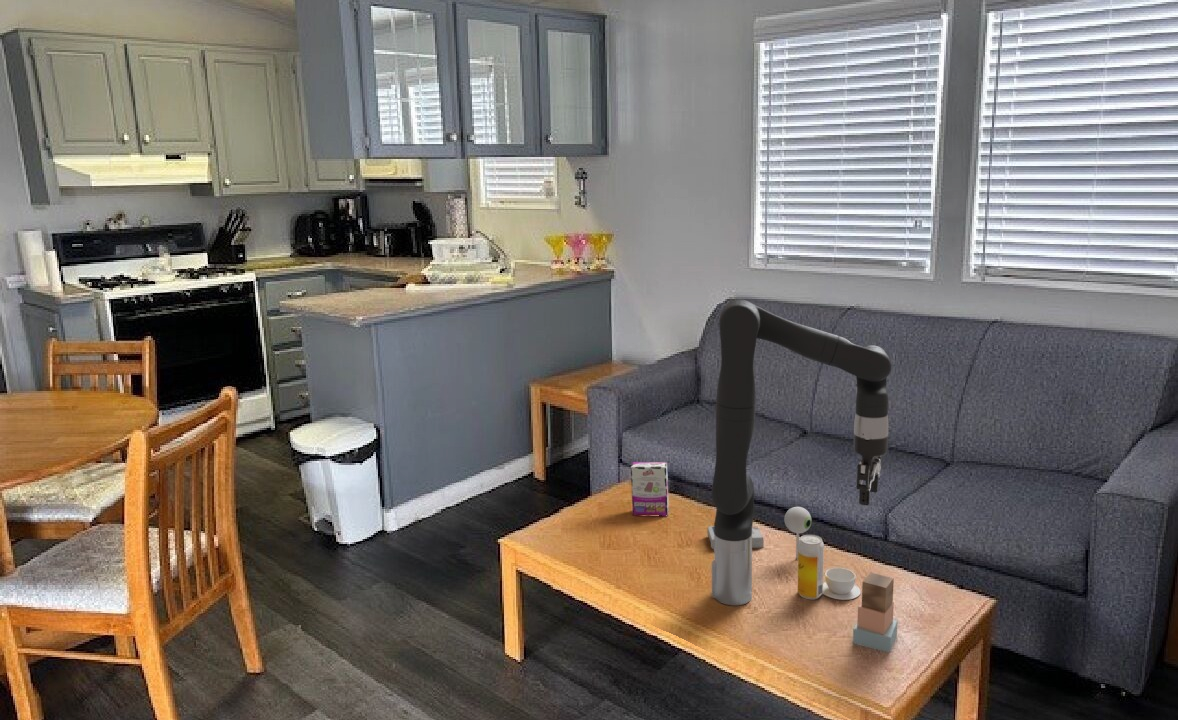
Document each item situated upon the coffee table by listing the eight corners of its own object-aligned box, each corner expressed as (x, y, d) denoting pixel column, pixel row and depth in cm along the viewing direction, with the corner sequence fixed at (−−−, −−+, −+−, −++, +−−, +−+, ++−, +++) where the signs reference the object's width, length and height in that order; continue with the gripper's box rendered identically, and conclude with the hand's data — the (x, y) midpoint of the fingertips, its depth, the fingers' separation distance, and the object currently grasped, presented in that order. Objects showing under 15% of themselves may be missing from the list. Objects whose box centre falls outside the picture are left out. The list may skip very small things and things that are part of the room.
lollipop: (800, 567, 222) (801, 515, 218) (778, 558, 227) (779, 507, 224) (815, 558, 226) (817, 507, 223) (794, 550, 232) (794, 500, 228)
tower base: (852, 644, 186) (853, 628, 185) (860, 627, 193) (861, 611, 192) (890, 653, 182) (890, 637, 181) (896, 635, 189) (897, 619, 188)
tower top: (857, 626, 186) (858, 606, 185) (866, 614, 191) (867, 595, 190) (884, 634, 182) (885, 614, 181) (892, 622, 187) (893, 602, 186)
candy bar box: (669, 510, 262) (667, 461, 258) (667, 517, 257) (666, 467, 253) (633, 509, 264) (632, 461, 260) (632, 516, 259) (630, 466, 255)
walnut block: (861, 606, 185) (862, 581, 184) (869, 596, 189) (870, 572, 188) (885, 612, 182) (886, 587, 180) (892, 602, 186) (893, 578, 184)
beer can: (804, 586, 212) (805, 531, 209) (826, 592, 208) (827, 537, 205) (793, 595, 207) (794, 540, 204) (816, 603, 204) (817, 546, 200)
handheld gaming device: (763, 549, 234) (763, 536, 233) (711, 551, 234) (711, 538, 233) (757, 536, 242) (757, 524, 242) (707, 538, 243) (707, 525, 242)
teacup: (848, 605, 202) (849, 588, 201) (812, 592, 209) (812, 575, 208) (867, 590, 209) (868, 573, 208) (831, 578, 216) (831, 561, 215)
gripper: (861, 422, 199) (859, 485, 203) (846, 439, 187) (844, 506, 191) (894, 425, 195) (891, 490, 199) (880, 443, 183) (878, 511, 187)
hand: (868, 497), depth 195 cm, fingers open, 8 cm apart
